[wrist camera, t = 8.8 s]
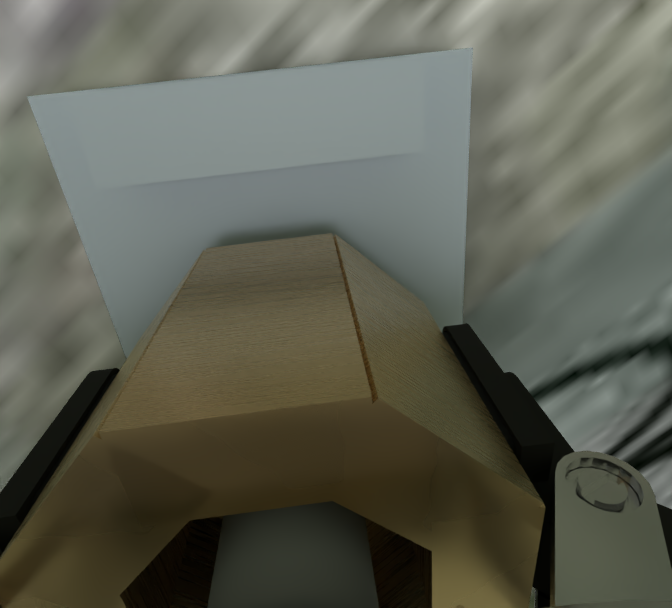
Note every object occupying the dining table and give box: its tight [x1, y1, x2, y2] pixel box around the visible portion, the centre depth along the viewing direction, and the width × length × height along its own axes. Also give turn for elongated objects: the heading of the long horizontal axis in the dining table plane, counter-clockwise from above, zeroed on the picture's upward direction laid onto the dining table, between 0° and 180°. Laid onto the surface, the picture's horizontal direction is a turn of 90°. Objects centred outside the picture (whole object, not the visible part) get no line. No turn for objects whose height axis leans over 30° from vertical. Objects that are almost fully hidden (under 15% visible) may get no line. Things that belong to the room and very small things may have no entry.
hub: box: [0, 233, 546, 608], centre depth 9 cm, size 7×7×6 cm
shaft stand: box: [27, 48, 473, 608], centre depth 10 cm, size 14×10×10 cm
